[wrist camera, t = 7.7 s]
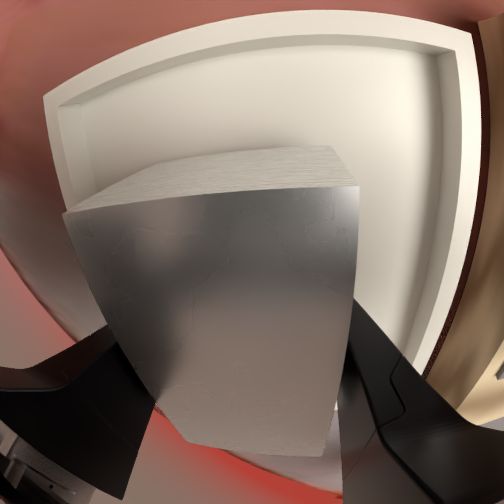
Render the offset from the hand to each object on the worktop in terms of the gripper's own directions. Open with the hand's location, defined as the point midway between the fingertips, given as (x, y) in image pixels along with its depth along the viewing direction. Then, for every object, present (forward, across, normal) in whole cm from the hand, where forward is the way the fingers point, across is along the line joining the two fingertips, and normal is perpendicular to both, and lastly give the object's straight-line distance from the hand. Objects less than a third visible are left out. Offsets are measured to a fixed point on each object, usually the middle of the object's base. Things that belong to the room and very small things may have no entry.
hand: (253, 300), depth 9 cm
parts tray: (+3, 0, 0) cm, 3 cm away
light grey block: (0, 0, 0) cm, 1 cm away
